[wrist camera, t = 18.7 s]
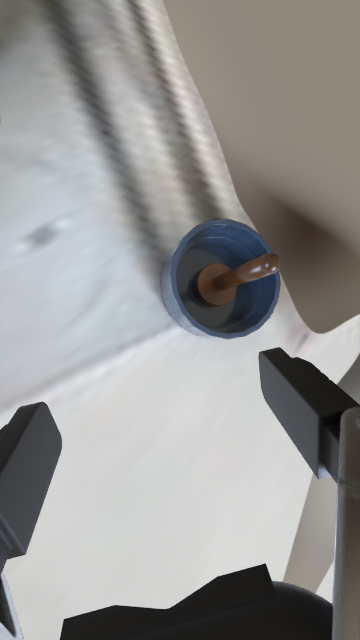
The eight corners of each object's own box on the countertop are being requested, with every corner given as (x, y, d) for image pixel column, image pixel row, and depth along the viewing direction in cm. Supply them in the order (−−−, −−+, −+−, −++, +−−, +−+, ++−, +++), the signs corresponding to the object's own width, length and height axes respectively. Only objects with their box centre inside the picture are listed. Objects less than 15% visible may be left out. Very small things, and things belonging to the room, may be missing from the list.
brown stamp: (184, 284, 34) (234, 256, 21) (212, 258, 35) (276, 216, 22) (211, 315, 34) (275, 306, 22) (237, 288, 36) (313, 265, 23)
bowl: (137, 280, 33) (144, 271, 27) (211, 215, 36) (230, 195, 30) (208, 358, 35) (227, 363, 29) (272, 291, 38) (299, 284, 32)
